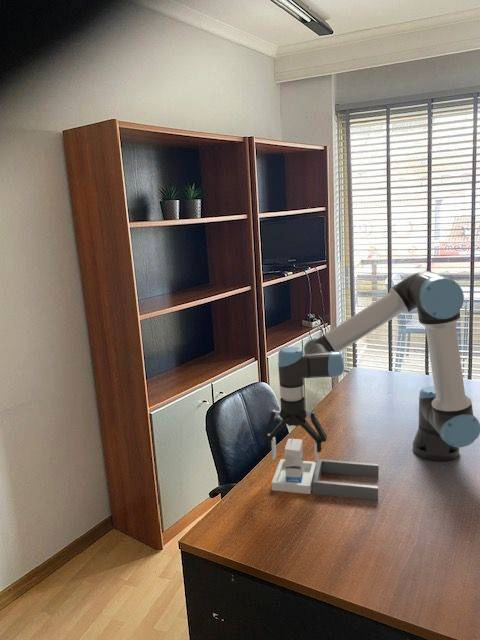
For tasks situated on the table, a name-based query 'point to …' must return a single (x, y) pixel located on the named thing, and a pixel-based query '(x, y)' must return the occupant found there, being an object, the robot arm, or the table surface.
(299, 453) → the ink box
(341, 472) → the bay
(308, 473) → the tray
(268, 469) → the table surface
